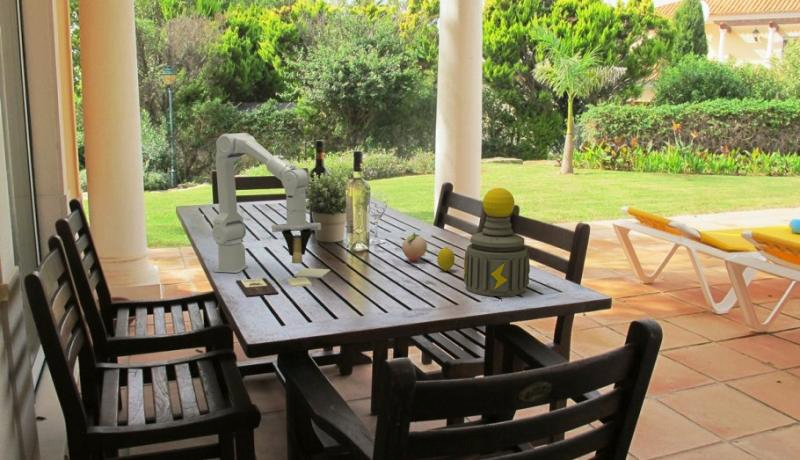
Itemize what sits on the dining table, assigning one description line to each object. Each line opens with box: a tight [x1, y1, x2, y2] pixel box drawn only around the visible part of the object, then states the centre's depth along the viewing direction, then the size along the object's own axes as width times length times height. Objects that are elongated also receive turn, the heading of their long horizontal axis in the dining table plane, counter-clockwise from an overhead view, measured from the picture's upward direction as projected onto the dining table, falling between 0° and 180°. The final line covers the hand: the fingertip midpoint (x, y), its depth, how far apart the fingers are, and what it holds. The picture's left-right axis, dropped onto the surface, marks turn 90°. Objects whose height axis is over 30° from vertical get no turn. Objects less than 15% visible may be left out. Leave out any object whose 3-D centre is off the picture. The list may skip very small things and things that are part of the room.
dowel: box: [291, 234, 303, 264], centre depth 221 cm, size 3×3×8 cm
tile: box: [285, 277, 313, 288], centre depth 222 cm, size 1×6×8 cm
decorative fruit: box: [401, 232, 428, 262], centre depth 251 cm, size 9×8×10 cm
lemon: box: [436, 246, 455, 272], centre depth 237 cm, size 6×6×8 cm
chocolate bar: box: [235, 277, 280, 298], centre depth 216 cm, size 9×1×18 cm
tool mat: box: [293, 267, 331, 279], centre depth 233 cm, size 10×9×1 cm
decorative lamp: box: [463, 187, 531, 298], centre depth 214 cm, size 19×19×30 cm
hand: (296, 254), depth 222 cm, fingers closed on dowel, 3 cm apart
